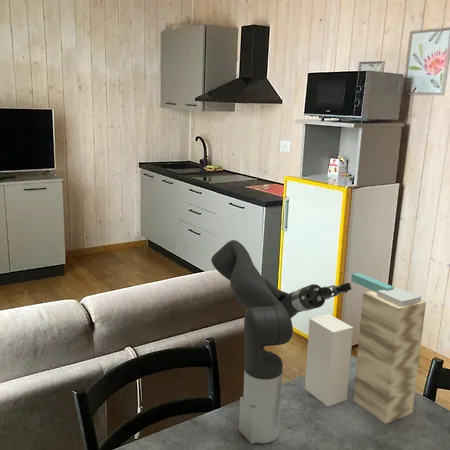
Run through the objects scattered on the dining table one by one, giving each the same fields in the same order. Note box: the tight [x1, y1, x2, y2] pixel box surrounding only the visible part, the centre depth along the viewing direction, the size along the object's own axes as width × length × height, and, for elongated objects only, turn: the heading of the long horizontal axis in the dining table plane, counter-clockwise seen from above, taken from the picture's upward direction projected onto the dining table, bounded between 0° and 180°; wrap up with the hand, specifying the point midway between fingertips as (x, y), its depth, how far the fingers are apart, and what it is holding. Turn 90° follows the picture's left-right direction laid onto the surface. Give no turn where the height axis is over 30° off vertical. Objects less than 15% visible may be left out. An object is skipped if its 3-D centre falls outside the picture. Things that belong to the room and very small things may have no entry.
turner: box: [350, 272, 422, 307], centre depth 134 cm, size 7×20×2 cm, turn 29°
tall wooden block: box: [353, 290, 427, 425], centre depth 134 cm, size 10×12×32 cm
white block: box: [304, 314, 354, 407], centre depth 140 cm, size 7×10×22 cm
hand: (339, 288), depth 149 cm, fingers open, 8 cm apart
